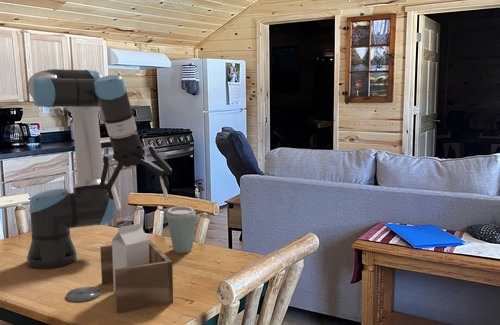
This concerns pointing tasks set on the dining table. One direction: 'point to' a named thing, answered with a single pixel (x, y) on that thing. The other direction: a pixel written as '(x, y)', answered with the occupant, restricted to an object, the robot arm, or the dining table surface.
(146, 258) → the milk carton
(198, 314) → the dining table surface
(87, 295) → the disc
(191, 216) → the disposable coffee cup
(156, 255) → the walnut cubby
